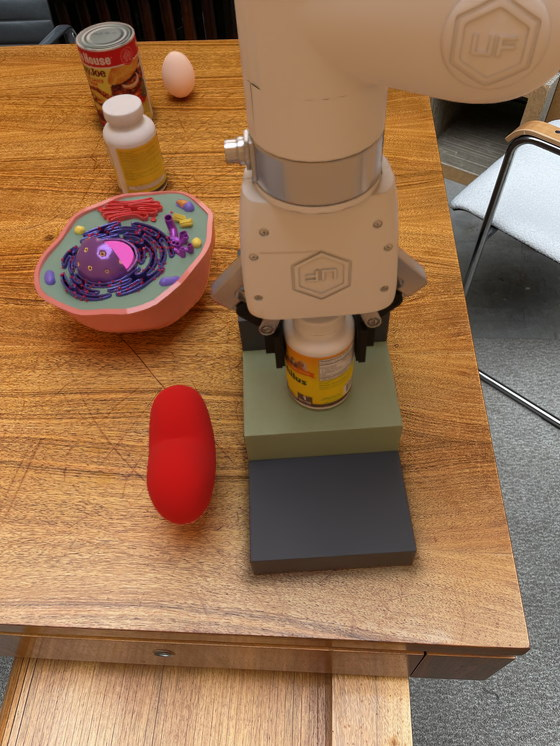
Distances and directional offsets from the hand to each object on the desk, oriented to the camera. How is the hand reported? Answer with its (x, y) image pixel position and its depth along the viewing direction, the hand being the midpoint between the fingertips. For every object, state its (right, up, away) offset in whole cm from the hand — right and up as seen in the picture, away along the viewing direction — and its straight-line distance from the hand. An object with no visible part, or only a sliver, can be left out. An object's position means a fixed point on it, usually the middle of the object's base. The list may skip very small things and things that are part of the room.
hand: (319, 350), depth 51 cm
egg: (-18, +41, +47) cm, 65 cm away
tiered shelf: (+1, -7, +10) cm, 12 cm away
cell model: (-18, +6, +21) cm, 29 cm away
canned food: (-26, +36, +44) cm, 63 cm away
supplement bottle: (0, -3, +4) cm, 5 cm away
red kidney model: (-11, -12, +7) cm, 18 cm away
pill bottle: (-21, +23, +34) cm, 46 cm away
